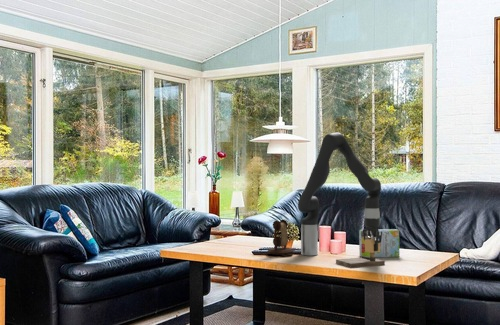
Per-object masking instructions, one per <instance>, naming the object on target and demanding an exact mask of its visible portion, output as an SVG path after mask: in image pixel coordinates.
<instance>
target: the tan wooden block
mask: <svg viewBox="0 0 500 325" xmlns="http://www.w3.org/2000/svg"><path fill="white" fill-rule="evenodd" d="M375 241H376V239H375ZM365 251H366V252H370V253H374V252H380V243H379V244H378V251H374V242H373V240H372V239H366V240H365Z"/></svg>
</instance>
